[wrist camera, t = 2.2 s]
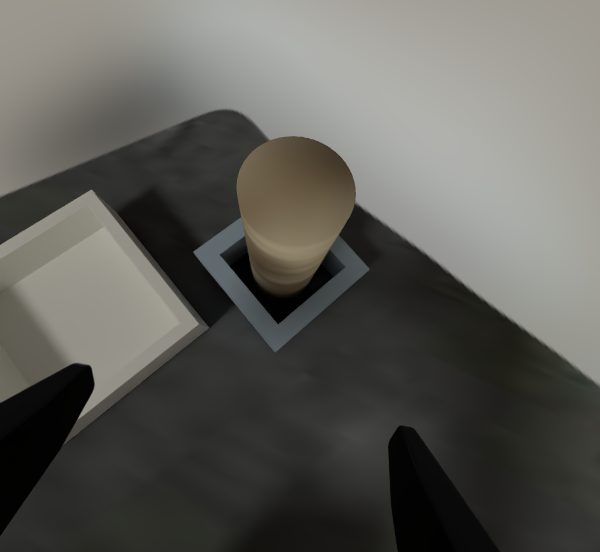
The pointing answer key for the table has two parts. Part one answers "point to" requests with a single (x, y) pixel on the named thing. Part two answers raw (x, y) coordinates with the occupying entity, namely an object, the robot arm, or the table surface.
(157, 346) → the tray
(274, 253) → the birch dowel
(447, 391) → the table surface
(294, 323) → the socket block
